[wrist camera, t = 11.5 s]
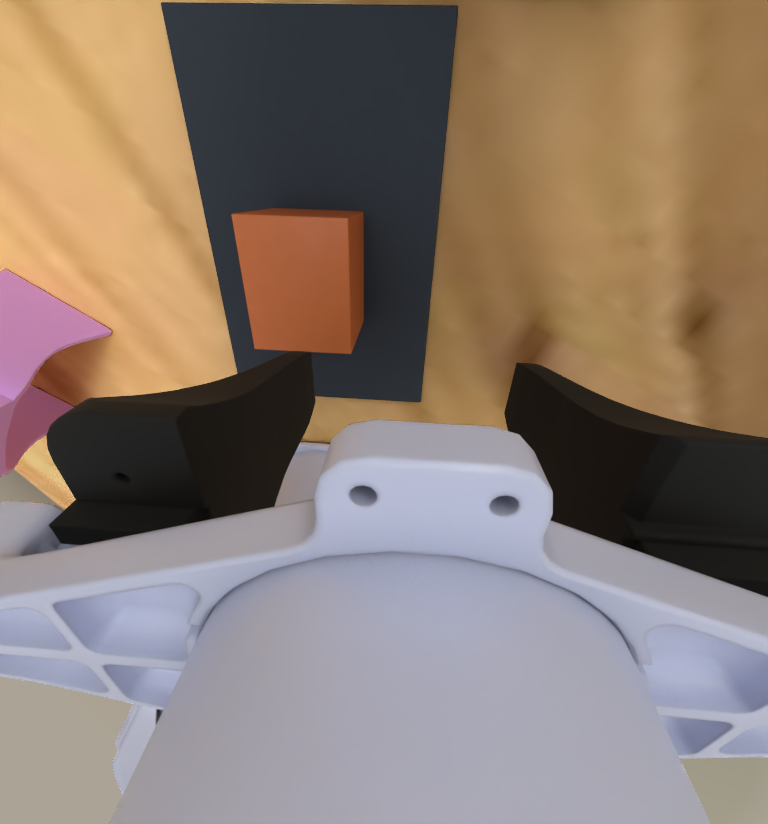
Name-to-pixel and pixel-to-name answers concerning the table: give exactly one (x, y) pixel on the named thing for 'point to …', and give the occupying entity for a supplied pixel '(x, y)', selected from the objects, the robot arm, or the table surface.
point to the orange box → (302, 277)
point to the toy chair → (32, 361)
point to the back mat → (325, 156)
